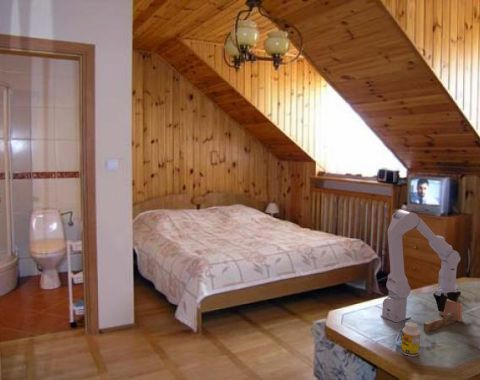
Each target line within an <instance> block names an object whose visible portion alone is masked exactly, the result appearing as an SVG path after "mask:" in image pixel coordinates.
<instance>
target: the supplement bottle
mask: <svg viewBox="0 0 480 380" xmlns="http://www.w3.org/2000/svg"><path fill="white" fill-rule="evenodd" d="M418 327H419V325H418V324H417V323H415V322H412V321H407V322H405V324H404V327H403V328H402V330H401V332H402V333H401V342H400V344H401V345H400V351H401V353H402V354H403V355H405V356H407V355H408V357H416V356H418V355H419V351H420V338H421V337H420V335H421V331H420V330H419V328H418Z"/></svg>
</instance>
